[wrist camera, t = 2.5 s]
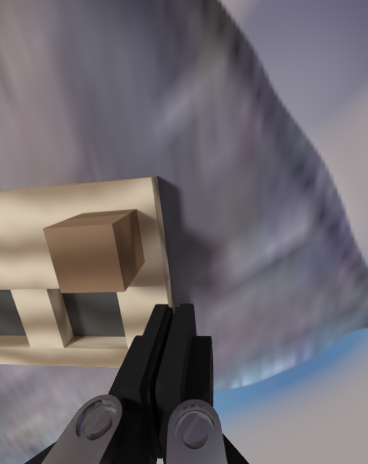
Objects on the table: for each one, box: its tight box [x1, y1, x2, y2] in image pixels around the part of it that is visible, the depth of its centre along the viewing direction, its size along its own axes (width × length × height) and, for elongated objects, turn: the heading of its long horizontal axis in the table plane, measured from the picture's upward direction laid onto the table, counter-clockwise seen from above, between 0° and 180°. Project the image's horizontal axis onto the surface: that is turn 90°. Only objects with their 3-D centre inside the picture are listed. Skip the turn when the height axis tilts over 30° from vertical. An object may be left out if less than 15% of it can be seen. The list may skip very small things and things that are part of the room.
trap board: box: [0, 176, 174, 367], centre depth 29 cm, size 24×38×2 cm, turn 96°
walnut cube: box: [43, 209, 145, 293], centre depth 22 cm, size 6×6×6 cm
